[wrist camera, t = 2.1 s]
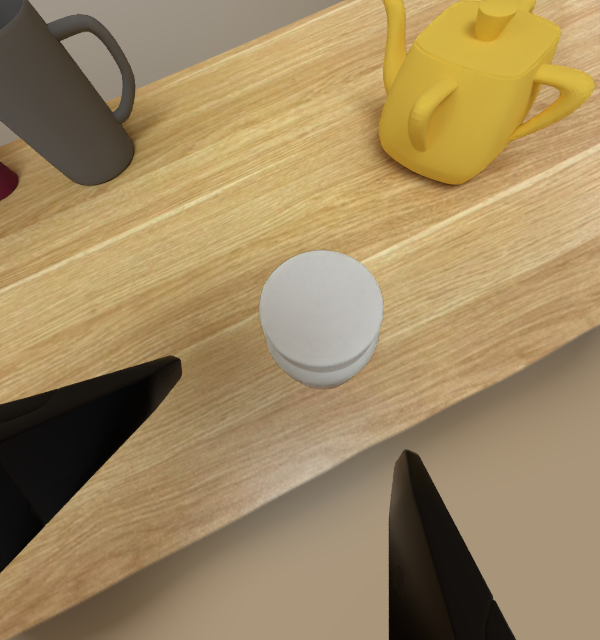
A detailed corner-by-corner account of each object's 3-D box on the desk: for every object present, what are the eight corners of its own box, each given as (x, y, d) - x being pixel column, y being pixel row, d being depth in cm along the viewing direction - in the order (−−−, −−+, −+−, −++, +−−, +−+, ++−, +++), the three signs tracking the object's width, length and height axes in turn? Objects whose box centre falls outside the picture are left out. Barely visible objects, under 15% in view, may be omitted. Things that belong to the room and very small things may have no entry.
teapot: (370, 202, 25) (399, 76, 15) (360, 114, 29) (378, -31, 19) (515, 192, 24) (649, 47, 14) (484, 101, 28) (571, -61, 18)
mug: (73, 199, 29) (-87, 71, 18) (61, 152, 32) (-84, 16, 21) (178, 150, 30) (89, -2, 19) (157, 108, 33) (68, -45, 22)
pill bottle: (296, 311, 22) (269, 227, 11) (365, 326, 21) (408, 250, 10) (277, 379, 20) (223, 357, 10) (351, 399, 19) (383, 399, 9)
